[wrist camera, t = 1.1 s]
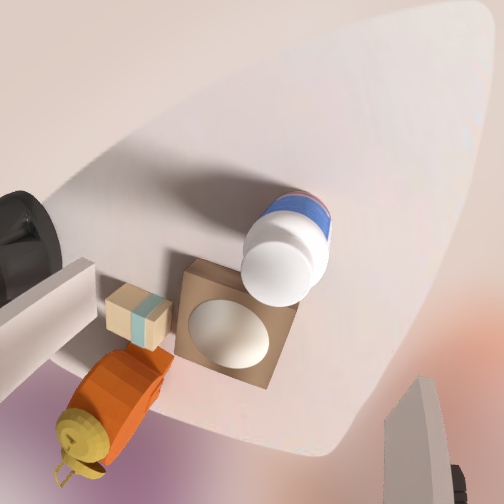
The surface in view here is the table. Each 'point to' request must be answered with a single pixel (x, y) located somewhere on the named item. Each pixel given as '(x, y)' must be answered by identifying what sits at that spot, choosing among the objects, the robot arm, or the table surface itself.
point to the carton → (138, 316)
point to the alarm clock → (109, 408)
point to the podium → (229, 325)
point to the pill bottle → (287, 249)
